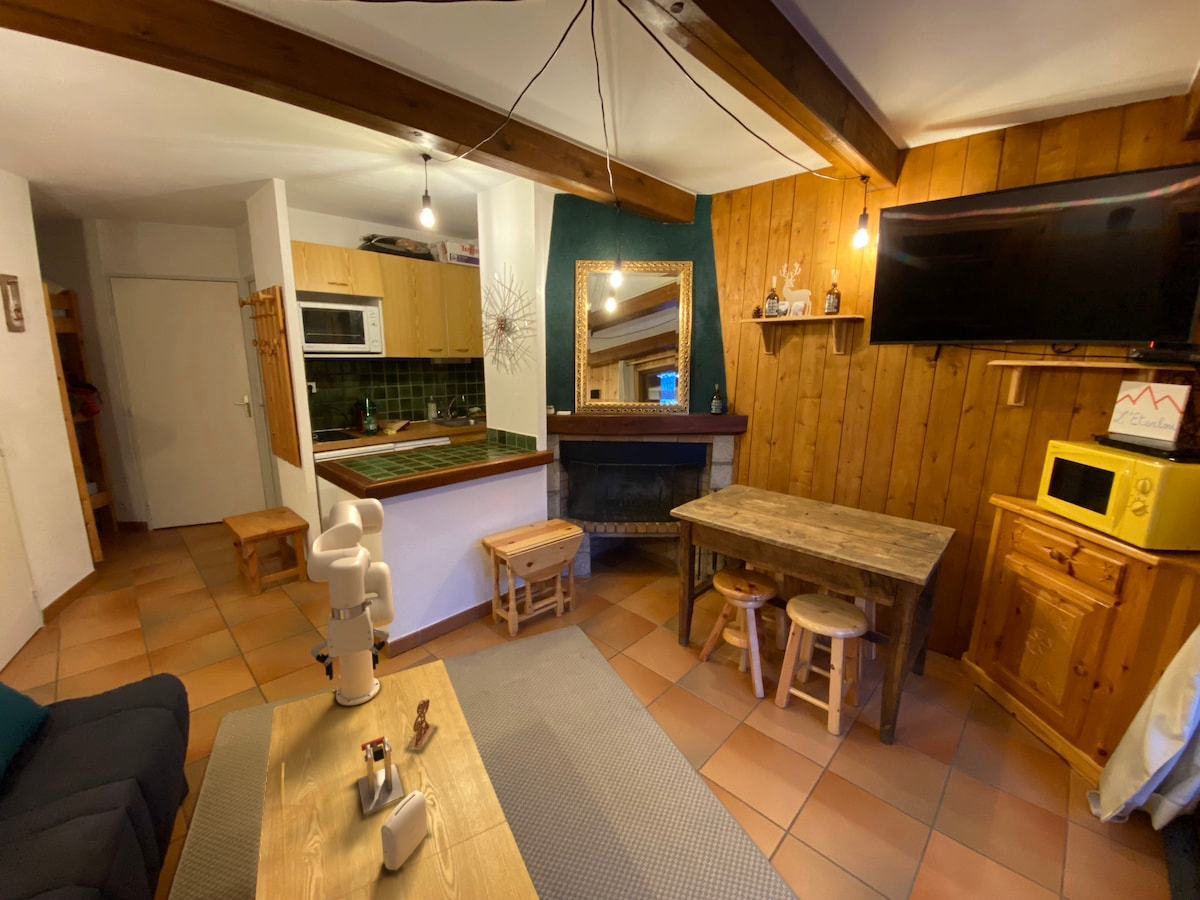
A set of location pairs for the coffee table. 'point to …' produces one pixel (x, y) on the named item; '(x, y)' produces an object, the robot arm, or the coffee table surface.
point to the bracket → (379, 781)
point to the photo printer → (404, 830)
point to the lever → (375, 748)
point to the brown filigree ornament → (422, 732)
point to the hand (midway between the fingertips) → (353, 671)
